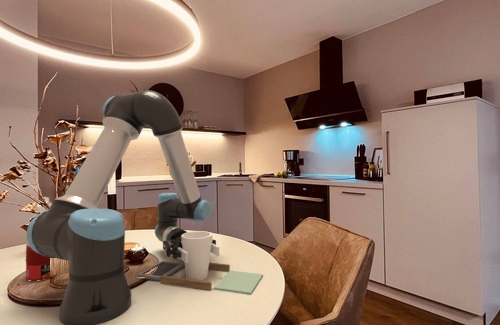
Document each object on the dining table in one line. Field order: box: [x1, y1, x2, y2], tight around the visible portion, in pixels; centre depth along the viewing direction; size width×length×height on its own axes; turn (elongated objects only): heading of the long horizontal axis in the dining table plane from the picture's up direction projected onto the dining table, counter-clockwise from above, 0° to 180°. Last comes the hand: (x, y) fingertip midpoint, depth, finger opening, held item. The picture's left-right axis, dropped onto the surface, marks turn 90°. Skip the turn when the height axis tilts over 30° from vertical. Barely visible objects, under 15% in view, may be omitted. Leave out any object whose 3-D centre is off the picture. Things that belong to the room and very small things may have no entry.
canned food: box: [25, 242, 51, 282], centre depth 85 cm, size 8×8×11 cm
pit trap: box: [136, 260, 185, 283], centre depth 88 cm, size 13×9×1 cm
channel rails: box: [159, 261, 231, 291], centre depth 85 cm, size 15×16×2 cm
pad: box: [212, 269, 264, 296], centre depth 81 cm, size 13×11×1 cm
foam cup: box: [181, 230, 213, 281], centre depth 85 cm, size 10×9×13 cm
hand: (203, 254), depth 81 cm, fingers closed on foam cup, 9 cm apart
